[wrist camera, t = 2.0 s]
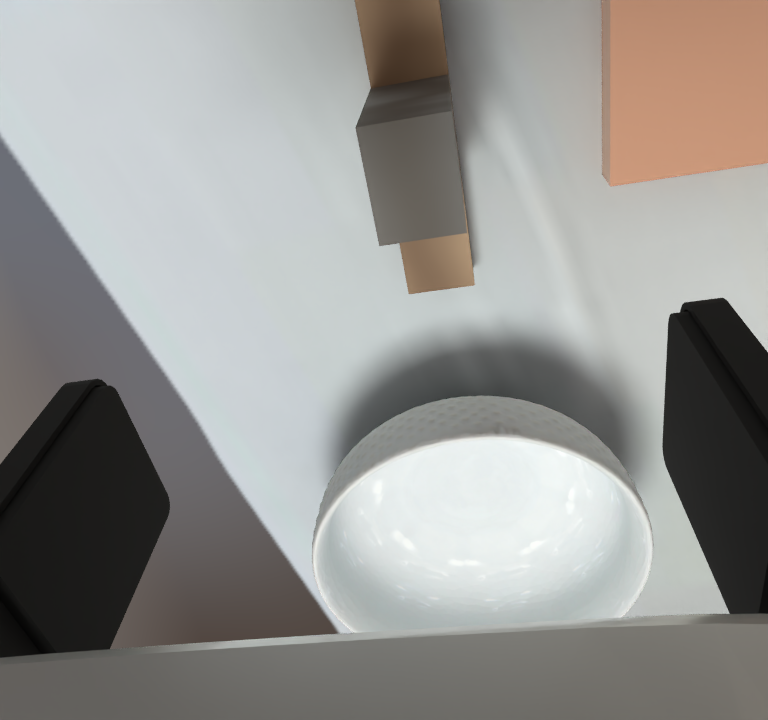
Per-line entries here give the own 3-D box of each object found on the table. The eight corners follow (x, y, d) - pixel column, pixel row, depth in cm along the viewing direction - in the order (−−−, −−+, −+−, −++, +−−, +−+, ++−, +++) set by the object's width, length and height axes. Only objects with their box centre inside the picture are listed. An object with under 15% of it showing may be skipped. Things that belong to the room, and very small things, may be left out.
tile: (795, -46, 25) (822, -44, 23) (771, 145, 28) (792, 159, 27) (599, -8, 26) (610, -4, 24) (600, 171, 29) (610, 186, 28)
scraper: (429, -81, 24) (427, -83, 18) (472, 266, 32) (482, 357, 25) (349, -63, 25) (318, -59, 18) (410, 274, 32) (403, 366, 26)
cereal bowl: (534, 599, 44) (550, 703, 38) (294, 527, 42) (272, 626, 36) (683, 410, 35) (733, 507, 30) (388, 306, 33) (378, 389, 27)
